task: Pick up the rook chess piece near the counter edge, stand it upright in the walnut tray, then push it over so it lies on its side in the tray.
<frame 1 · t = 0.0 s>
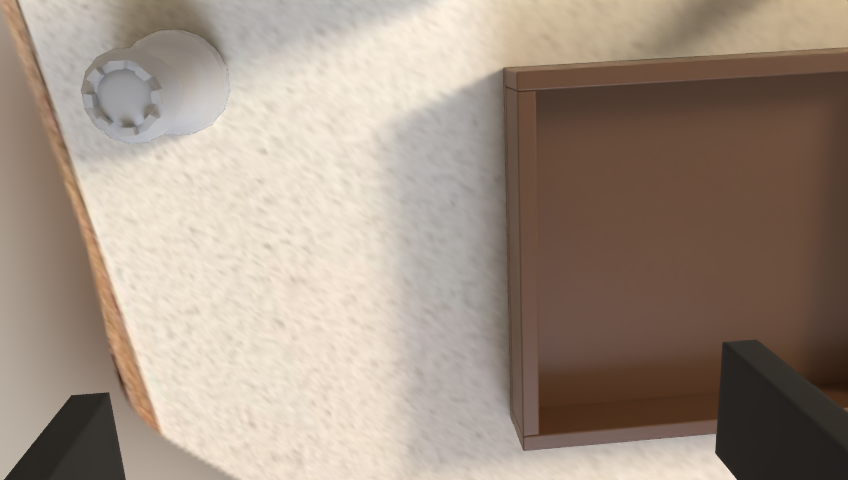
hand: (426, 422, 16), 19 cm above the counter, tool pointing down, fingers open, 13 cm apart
rook chess piece: (181, 81, 32), on the counter
tray: (705, 240, 36), on the counter
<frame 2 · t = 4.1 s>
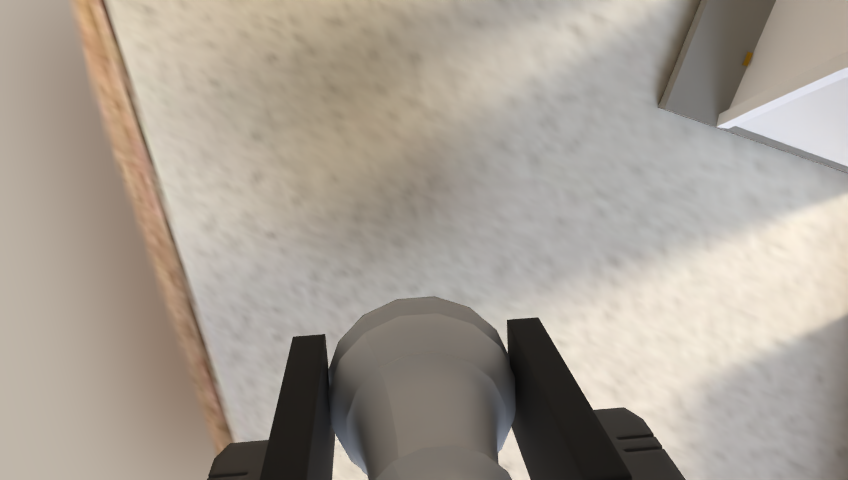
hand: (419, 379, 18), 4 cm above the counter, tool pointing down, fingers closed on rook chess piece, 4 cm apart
rook chess piece: (418, 371, 18), point 3 cm above the counter, touching gripper
skyscraper: (831, 52, 21), on the counter
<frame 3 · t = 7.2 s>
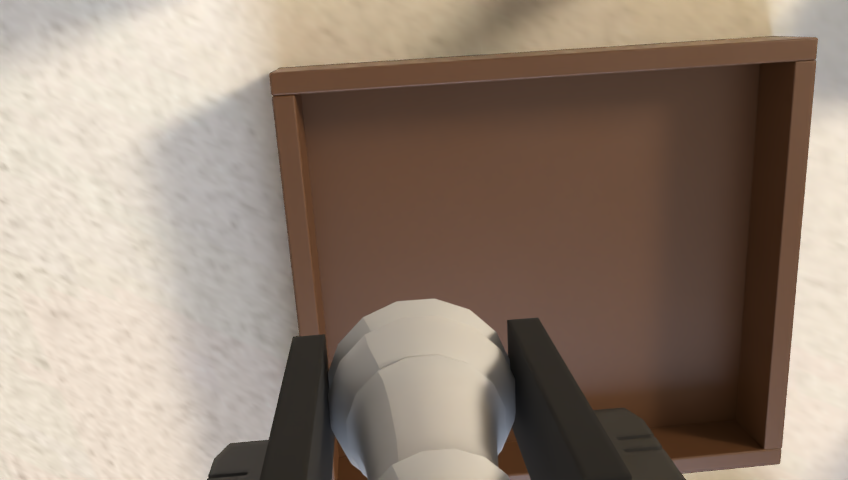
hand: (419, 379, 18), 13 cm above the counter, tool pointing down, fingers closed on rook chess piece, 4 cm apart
rook chess piece: (418, 373, 18), point 13 cm above the counter, touching gripper
tray: (534, 264, 31), on the counter
when the fingers open (1 cm above the counter, at t = 10.2 s): rook chess piece stays where it is, resting on tray.
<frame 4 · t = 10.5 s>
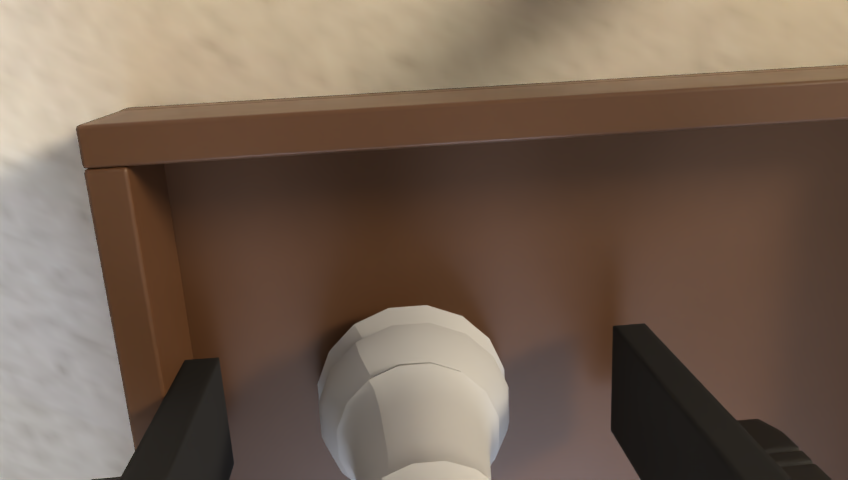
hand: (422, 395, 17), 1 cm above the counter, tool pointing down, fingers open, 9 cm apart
rook chess piece: (410, 380, 18), resting on tray
tray: (566, 425, 19), on the counter
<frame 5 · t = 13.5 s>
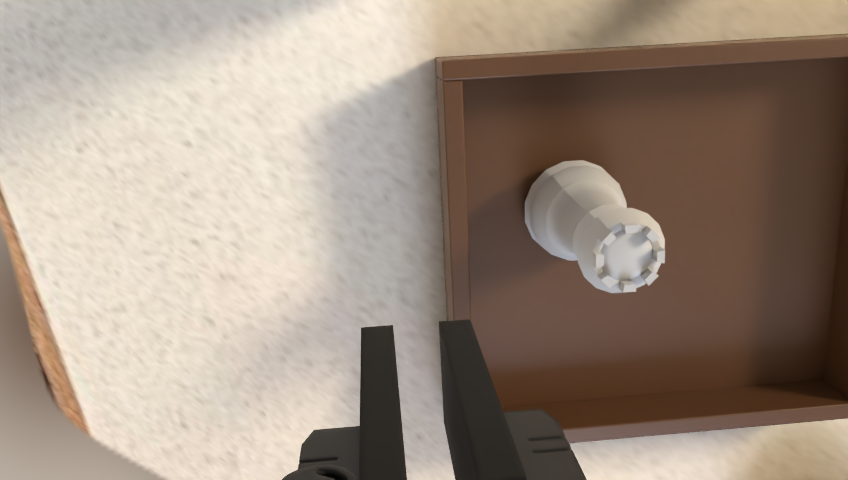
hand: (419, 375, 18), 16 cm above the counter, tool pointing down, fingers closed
rook chess piece: (568, 205, 34), resting on tray
tray: (649, 236, 35), on the counter
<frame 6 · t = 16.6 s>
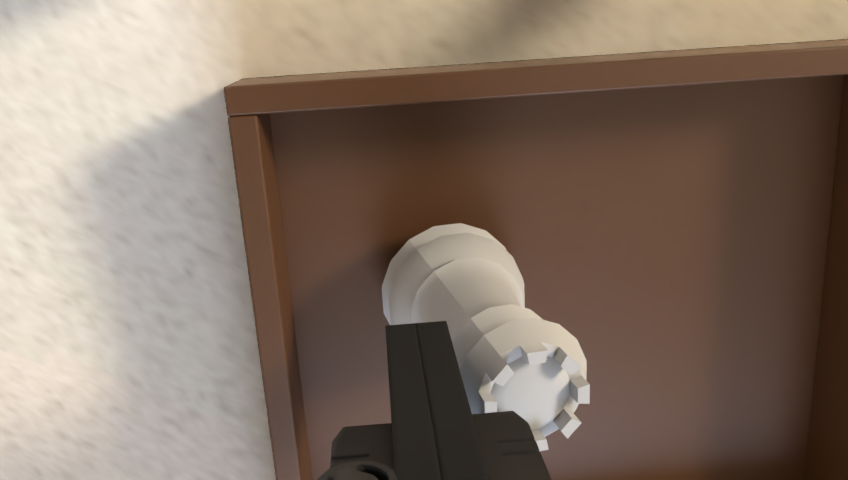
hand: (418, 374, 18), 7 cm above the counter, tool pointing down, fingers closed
rook chess piece: (444, 284, 24), point 1 cm above the counter, touching gripper, tray
tray: (560, 318, 26), on the counter
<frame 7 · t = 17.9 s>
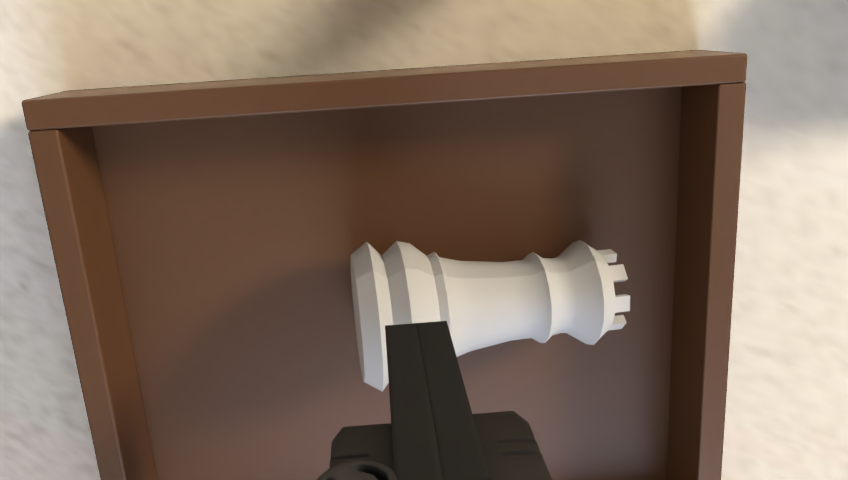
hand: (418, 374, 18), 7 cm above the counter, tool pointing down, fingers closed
rook chess piece: (350, 318, 22), point 3 cm above the counter, touching tray
tray: (408, 332, 25), on the counter
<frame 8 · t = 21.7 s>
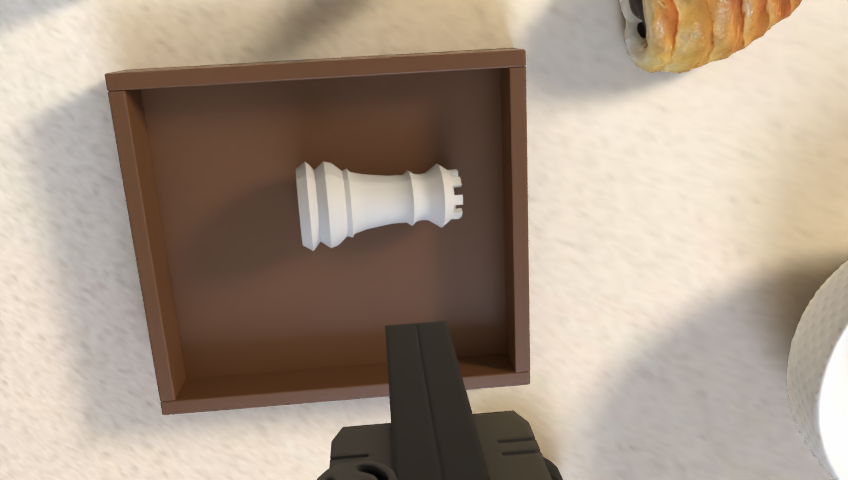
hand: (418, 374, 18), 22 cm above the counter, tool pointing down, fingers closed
rook chess piece: (295, 207, 36), point 3 cm above the counter, touching tray
tray: (337, 226, 40), on the counter
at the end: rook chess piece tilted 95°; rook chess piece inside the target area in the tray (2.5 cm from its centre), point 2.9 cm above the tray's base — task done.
